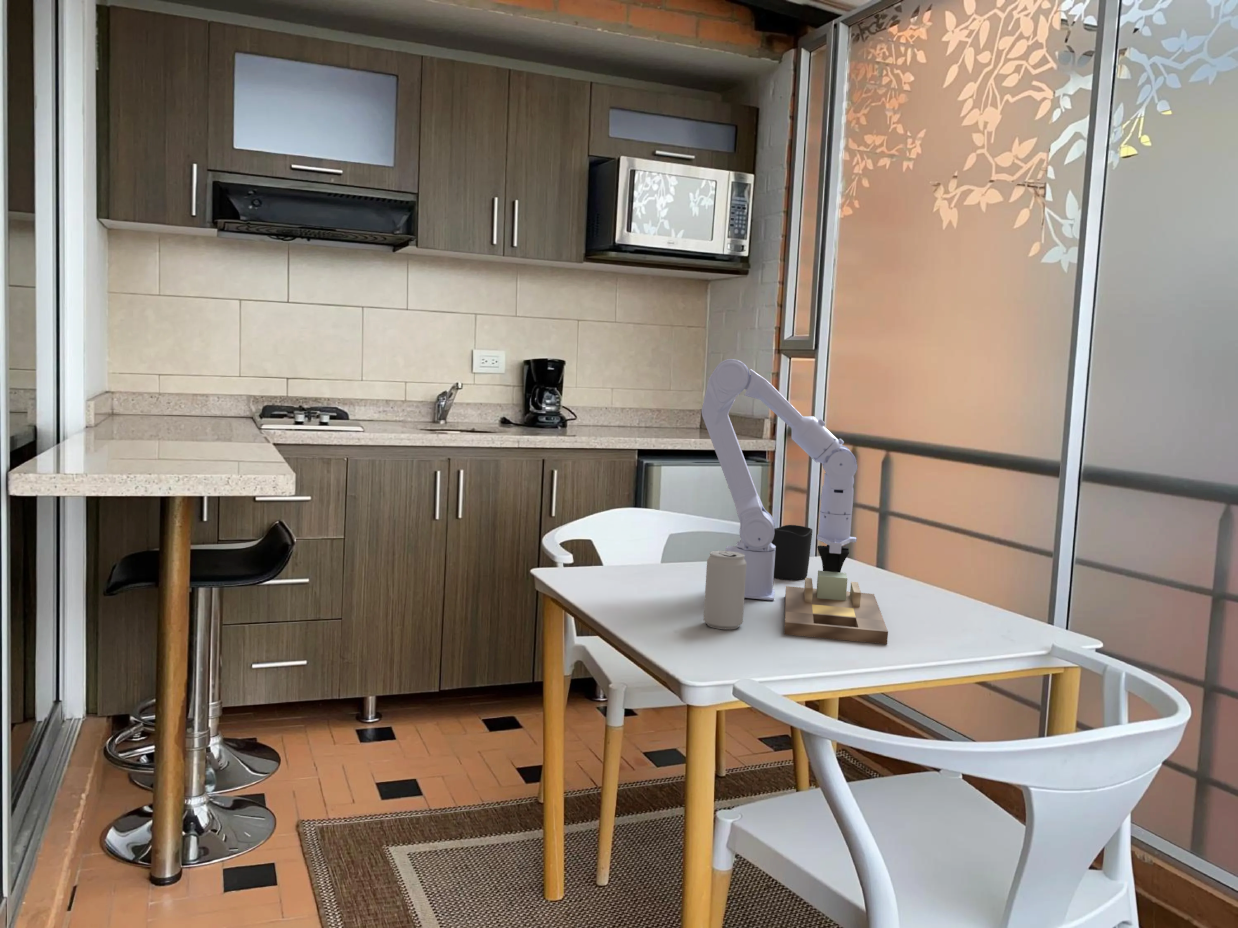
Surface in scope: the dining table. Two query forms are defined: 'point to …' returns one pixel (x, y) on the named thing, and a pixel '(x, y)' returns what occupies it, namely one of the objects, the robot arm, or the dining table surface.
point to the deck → (834, 615)
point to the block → (831, 585)
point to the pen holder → (792, 552)
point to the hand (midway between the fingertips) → (830, 585)
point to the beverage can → (725, 589)
